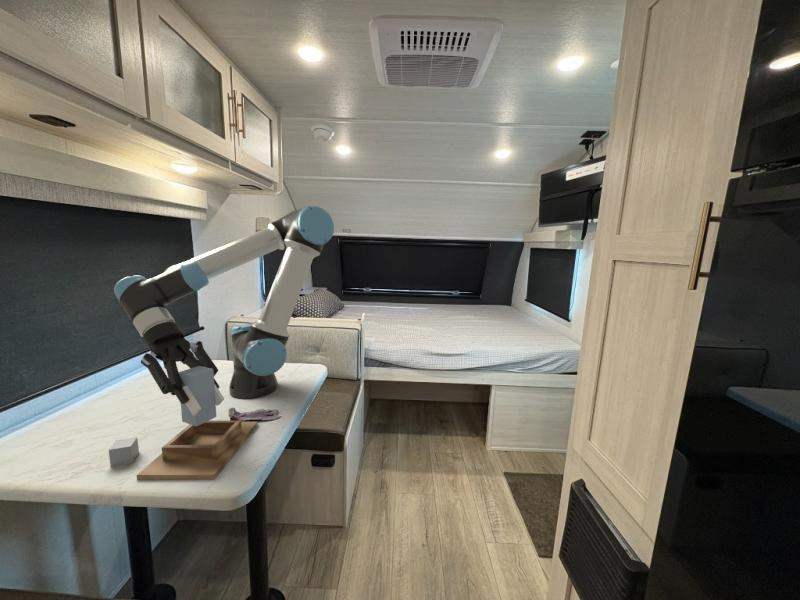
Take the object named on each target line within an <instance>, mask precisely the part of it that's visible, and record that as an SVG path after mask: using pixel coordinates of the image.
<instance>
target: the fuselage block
mask: <svg viewBox="0 0 800 600" xmlns="http://www.w3.org/2000/svg"><path fill="white" fill-rule="evenodd" d="M178 373H179V375H180V379H181V383H182V388H183V387H184V386H186V385H187V387H188V388H189V390H190V391H191V393H192V394H193V396H194V397H195V399H196V400H197V402H198V404H199V405H200V407H201V408H202V409H201V410H200V411H199V413H198V414H197V415H195V416H193V415H192V413H191V412H190V410H189V409H188V407H187V405H186V404H182V403H180V408H181V409H180V410H181V412H180V413H181V422H182V423H185V424H188V425H189V424H191V425H194V426H198V425H200V424H203V423H205V422H207V421H212V420H213V419H215V418H217V406H216V403H215V386H214V379H215V376H214V371H213V369H211V368H207V367H202V366H197V367H194V368H188V369H184V370H180V371H178Z"/></svg>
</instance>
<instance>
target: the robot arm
mask: <svg viewBox="0 0 800 600" xmlns="http://www.w3.org/2000/svg"><path fill="white" fill-rule="evenodd" d="M334 233H335V224H334V220H333V218H332V216H331V214H329V212H328V211H327V210H325V209H324V208H323V207H320V206H317V205H316V206H315V205H306V206H304V207H302V208H300V209H295V210H292V211H290V212H289V213H286V214H285V215H283V217H280V218H279V219H277V220H275V221H273V222H270V223H268V225H267V227H266V228H263V229H261V230H259V231H256V232H254V233H252V234H249V235H246V236H243V237H242V238H239V239H237V240H234V241H232V242H229V243H227V244H225V245H222V246H219V247H217V248H215V249H211V250H209V251H207V252H205V253H202V254H200V255H197V256H194V257H193V258H191V259H188V260H186V261H182V262H181V263H180V262H179V263H178V264H173V265H171V266H169V267H167V268H166V269H165V270H164V272H163V273H160V274H158V275H157V276H154V277H151V278H148V279H147V278H146V276H143V275H137V274H136V275H135V274H134V275H132V276H131V275H130V276H126V277H124V278H122V279H120V280H118V281H117V282H116V283H115V285H114V287H113V292H114V294H115V296H116V299H117V300H118V303H119V305H120V306H121V307H122V309H123V310H124V312H125V314H126V315H127V317H128V318H129V320H130V321H131V322H132V324H133V326H134V327H135V329H136V330H137V332H138V333H139V335H140V337H142V341H143V342H144V344H145V346H146V347H147V348H148V350H149V351H150V353H145V354H144V355H143V357H142V359H141V360H140V364H142V365H143V366H144V367H146V368H147V370H148V371H149V373H150V375H151V376H152V378H153V380H154V381H155V383H156V384H157V386H158V388H159V390H160V391H161V393H162V394H163V395H167V394H169V393H170V395H171V396H176V399H178V401H179V403H180V404H181V403H182V404H186V405H187V407H188V409H189V410H190V412H191V413H192V415H193V416H195V415H197V414H198V413H199V411H200V410H201V409H202V408H201V407H200V405H199V404H198V402H197V400H196V399H195V397H194V396H193V394H192V393H191V391H190V390H189V388H188V387H187V385H186V386H184V387H183V388H182V383H181V379H180V375H179V373H178V372H179V369H178V365H177V362H181V363H182V364H183V365H186V366H187V367H188V369H191V368H194V367H197V366H202V367H207V368H211V369H213V371H214V377H215V376H216V375H217V374H218V372H219V369H218V367H217V365H216V364H215V362H213V360H212V358H211V357H210V356H209V354H208V353H207V352H206V350H205V348H204V346H203V342H202V341H200V340H198V341H196V342H195V343H194V342H190V341H189V340H187V339H186V338H185V336H184V333H183V331H182V330H181V328H180V326H179V325H178V323H177V322H176V321H175V318H174V317H173V316H172V314H171V313H170V311H169V310H168V309H167V307H166V306H167V305H169V304H172V303H173V302H176V301H177V300H180V299H182V298H185V297H186V296H188V295H190V294H192V293H195V292H197V291H200V290H201V289H202V288H204V287H207V286H208V285H209V282H210V281H209V280H211V279H212V278H215V277H218V276H220V275H222V274H224V273H226V272H228V271H231V270H234V269H235V268H238V267H240V266H242V265H244V264H247V263H249V262H251V261H254V260H256V259H258V258H260V257H263V256H265V255H268V254H270V253H272V252H274V251H276V250H281V251H285V252H284V254H283V257H282V259H281V262H280V264H279V267H278V270H277V272H276V275H275V276H274V279H273V282H272V285H271V288H270V290H269V293H268V295H267V297H266V301H265V303H264V305H263V309H262V311H261V313H260V316H259V318H258V320H256V321H254V322H252V323H249V324H248V323H246V324H239V325H235V326H233V327H232V328H231V331H230V332H231V333H230V337H231V346H232V360H233V361H232V362H233V363H232V364H233V372H232V375H231V379H230V383H229V387H228V388H229V395H230V396H231V397H233V398H236V399H254V398H260V397H264V396H267V395H269V394H271V393H273V392H274V391H276V390H277V388H278V379H277V377H276V374H275V373H277V372H278V371H280V369H282V367H283V366H284V364H285V363H286V360H287V356H288V354H287V349H286V346H287V343H288V340H289V337H290V334H289V332H288V326H289V323H290V321H291V317H292V316H293V313H294V311H295V308H296V305H297V302H298V299H299V297H300V294H301V292H302V289H303V286H304V283H305V281H306V278H307V276H308V274H309V273H308V272H309V271H310V267H311V266H312V263H313V260H314V258H316V257H318V256H320V255H321V253H322V250H323V249H324V248H323V247H324V245H325V244H327V243H328V242H329V241H330V240H331V239H332V237H333V236H334ZM158 360H159V361H161V362H162V363H163V367H162V366H161V364H160V363H159V361H158ZM164 369H165V370H166V372H165V371H164ZM214 386H215V403H216V407H217V406H219V405H221V404H222V402H223V401H224V400H225V397H224V395H223V394H222V393H221V391H220V390H219V389H220V384H219V383H218V381H217V380H216V379H215V378H214Z"/></svg>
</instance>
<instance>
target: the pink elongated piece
mask: <svg viewBox="0 0 800 600" xmlns="http://www.w3.org/2000/svg"><path fill="white" fill-rule="evenodd" d="M277 414H279V410H278V409H273V408H272V409H264V408H260V409H255V410H252V411H246V412H245V411H244V412H240V411H237V410H236V408H235V407H230V408H229V409H228V412H227V416H228V417H229V421H241V422H242V421H243V422H246V421H250V420H252V421H253V420H257V421H259V420H262V421H271V420H273V421H276V420H278V419H280V418H281V417H282V415H277Z"/></svg>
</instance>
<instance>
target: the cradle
mask: <svg viewBox="0 0 800 600" xmlns="http://www.w3.org/2000/svg"><path fill="white" fill-rule="evenodd" d="M258 425H259V424H258V421H242V420H241V421H238V420H234V421H230V420H209V421H207V422H205V423H203V424H200V425H198V426H194V425H191V424H188V425H187V426H185V428H184V429H181V431H180V432H179V433H177V434H176V435H175V436H173V438H171V439H170V440H169V441H168V442H166V443H165V444H164V445H163V446H162V447H161V453H160V454H159V455H158V456H157V457H156V458H155V459H153V460H152V461H151V462H150V463H149V464H147V465H146V467H144V468H143V469H142V470H140V471H139V472H138V473H137V475H136V480H215V479H216V478H217V477H218V476H219V474H220V473H221V471H222V470H223V469H224V468H225V466H226V465H227V464H228V462H229V461H231V458H233V457H234V456H235V454H236V453H237V451H238V450H239V449H240V448H241V447H242V445H243V444H244V443H245V442H246V440H247V439H248V438H249V436H250V435H251V434H252V433H253V431H254V430H255V429H256V428H257V427H258Z"/></svg>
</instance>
